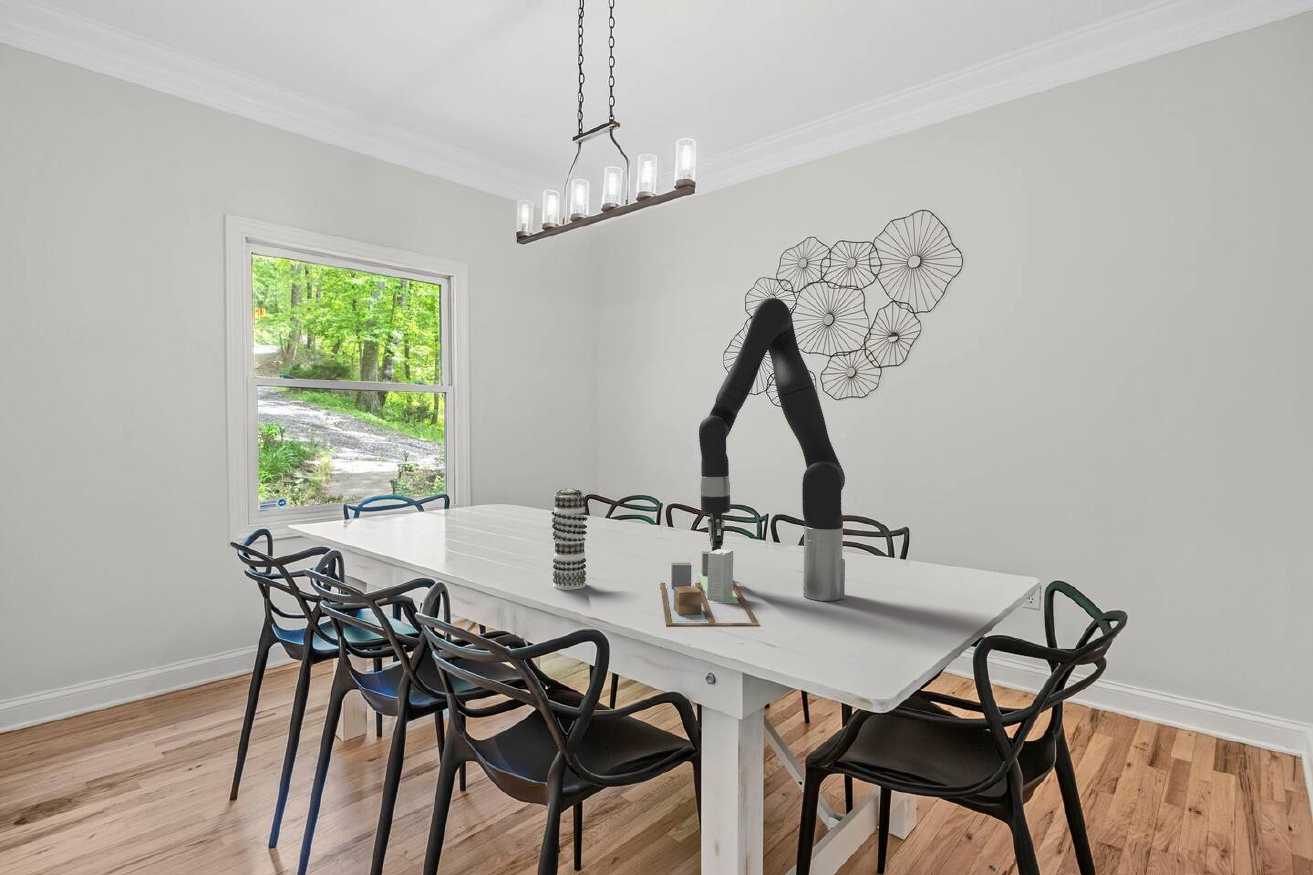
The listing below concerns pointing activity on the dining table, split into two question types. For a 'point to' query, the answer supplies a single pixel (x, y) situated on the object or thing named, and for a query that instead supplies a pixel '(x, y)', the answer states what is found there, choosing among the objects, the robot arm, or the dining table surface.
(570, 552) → the decorative candle
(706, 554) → the strip
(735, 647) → the dining table surface
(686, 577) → the strip
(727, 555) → the skincare box
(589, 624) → the dining table surface
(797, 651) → the dining table surface
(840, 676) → the dining table surface
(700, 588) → the lane rails
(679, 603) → the walnut cube
